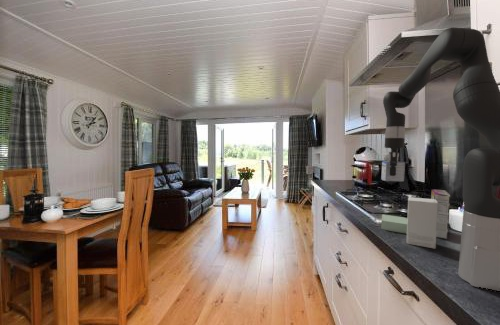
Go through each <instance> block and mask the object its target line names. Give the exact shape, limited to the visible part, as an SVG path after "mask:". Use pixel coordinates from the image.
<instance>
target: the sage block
mask: <svg viewBox="0 0 500 325" xmlns="http://www.w3.org/2000/svg"><path fill="white" fill-rule="evenodd" d="M380 224H381V226H380V229H381V230H383V231H390V232H395V233H402V234H406V235H407V217H404V216H396V215H390V214H389V215H388V214H383V213H382V214H381V223H380Z"/></svg>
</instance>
